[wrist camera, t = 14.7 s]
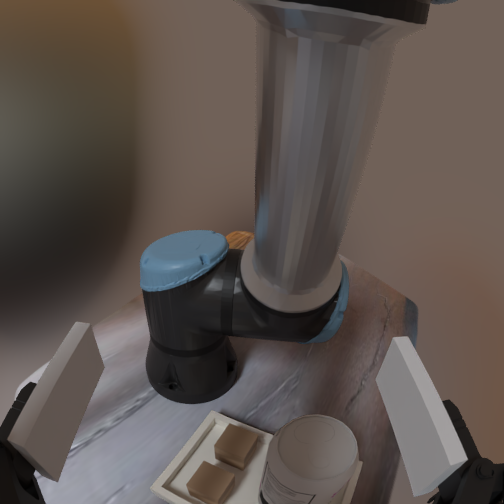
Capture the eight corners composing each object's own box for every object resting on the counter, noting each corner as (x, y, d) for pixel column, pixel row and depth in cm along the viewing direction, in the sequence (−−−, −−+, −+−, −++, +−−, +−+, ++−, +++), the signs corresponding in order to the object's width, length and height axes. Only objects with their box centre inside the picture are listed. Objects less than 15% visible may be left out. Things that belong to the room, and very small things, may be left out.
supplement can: (255, 474, 32) (265, 411, 25) (319, 469, 32) (352, 405, 26) (259, 528, 25) (273, 491, 18) (329, 521, 25) (374, 476, 19)
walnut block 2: (215, 458, 34) (214, 445, 32) (229, 437, 37) (229, 422, 35) (243, 471, 32) (244, 458, 31) (256, 448, 36) (258, 434, 34)
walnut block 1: (189, 495, 28) (186, 484, 27) (206, 472, 32) (203, 460, 30) (219, 509, 27) (218, 500, 25) (234, 485, 30) (234, 474, 28)
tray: (153, 493, 28) (149, 487, 27) (212, 418, 41) (211, 410, 40) (322, 562, 20) (327, 560, 19) (357, 468, 33) (363, 461, 32)
